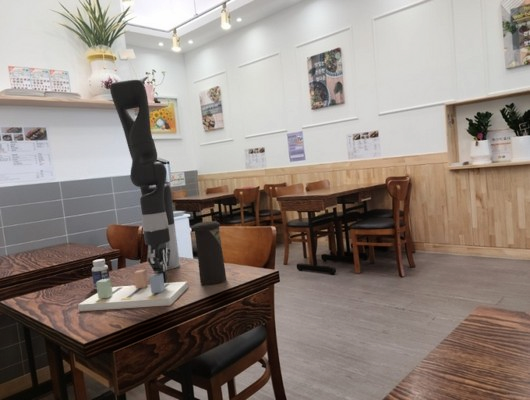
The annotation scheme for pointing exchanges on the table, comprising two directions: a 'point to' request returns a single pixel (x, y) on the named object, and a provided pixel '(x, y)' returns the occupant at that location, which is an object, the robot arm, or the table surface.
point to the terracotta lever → (141, 278)
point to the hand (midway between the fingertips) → (163, 282)
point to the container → (209, 253)
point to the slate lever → (157, 283)
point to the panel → (135, 297)
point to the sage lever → (104, 288)
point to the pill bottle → (99, 271)
